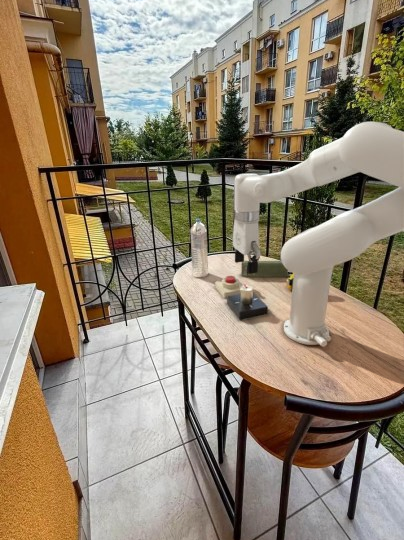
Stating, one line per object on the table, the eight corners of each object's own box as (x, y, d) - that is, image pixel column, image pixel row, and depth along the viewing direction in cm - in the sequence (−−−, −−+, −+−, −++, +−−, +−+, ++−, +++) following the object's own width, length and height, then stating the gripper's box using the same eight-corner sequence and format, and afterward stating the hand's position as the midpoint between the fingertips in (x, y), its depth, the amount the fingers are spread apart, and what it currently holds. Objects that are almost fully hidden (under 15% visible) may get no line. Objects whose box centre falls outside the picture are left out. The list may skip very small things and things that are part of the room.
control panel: (267, 314, 92) (267, 306, 91) (239, 320, 90) (239, 311, 89) (252, 298, 102) (252, 291, 101) (226, 303, 100) (226, 295, 98)
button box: (246, 294, 106) (246, 284, 104) (224, 298, 103) (224, 288, 102) (236, 282, 115) (236, 274, 113) (215, 286, 112) (215, 277, 111)
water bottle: (198, 270, 128) (196, 216, 119) (211, 273, 124) (209, 218, 115) (189, 275, 123) (186, 220, 114) (202, 279, 119) (199, 222, 110)
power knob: (254, 302, 94) (255, 288, 92) (243, 305, 93) (243, 290, 91) (249, 297, 97) (249, 283, 95) (238, 299, 96) (238, 285, 94)
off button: (236, 283, 107) (236, 278, 106) (227, 284, 106) (227, 280, 105) (233, 279, 110) (233, 275, 109) (224, 280, 109) (224, 276, 108)
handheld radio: (241, 273, 123) (300, 274, 120) (241, 277, 120) (301, 277, 117) (241, 259, 120) (301, 259, 117) (241, 263, 117) (303, 263, 114)
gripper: (224, 211, 92) (225, 259, 98) (248, 223, 77) (246, 279, 83) (245, 209, 94) (244, 256, 100) (272, 220, 79) (269, 275, 85)
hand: (245, 267), depth 92 cm, fingers open, 9 cm apart
